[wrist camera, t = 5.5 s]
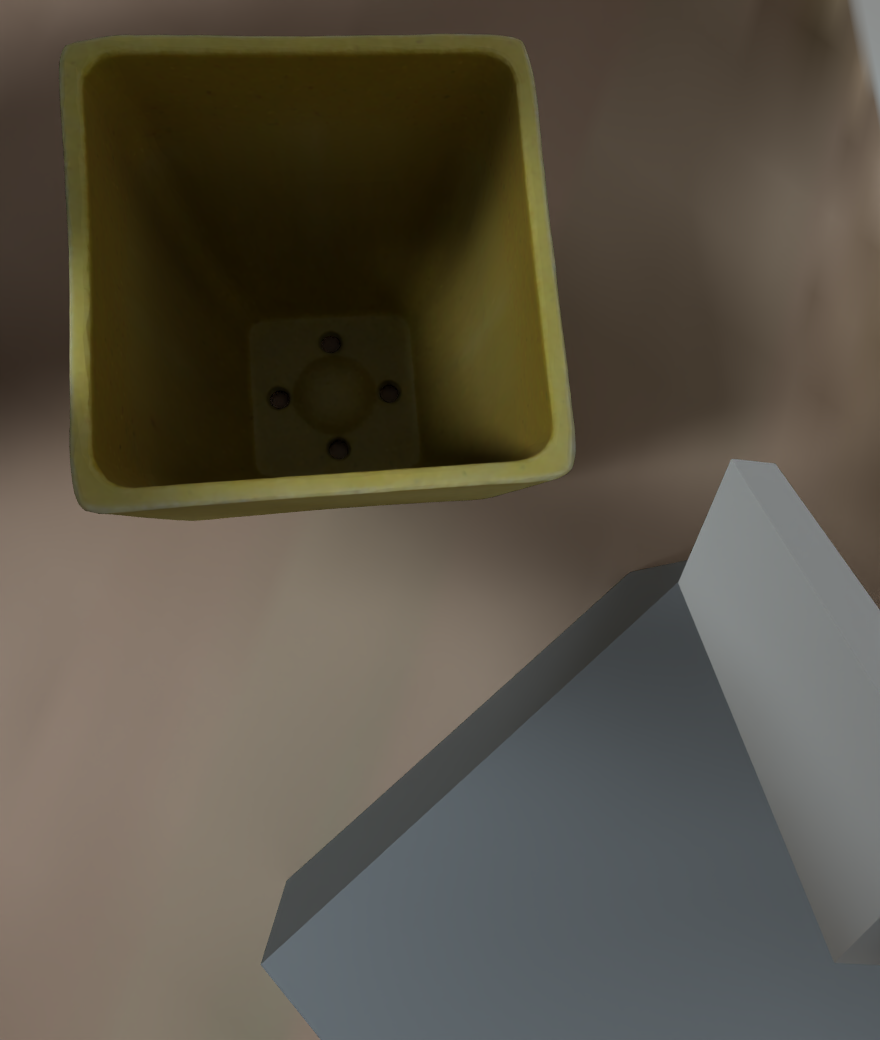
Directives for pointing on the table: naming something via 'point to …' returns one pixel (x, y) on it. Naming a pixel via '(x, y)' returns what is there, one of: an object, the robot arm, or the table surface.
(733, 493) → the robot arm
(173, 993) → the table surface
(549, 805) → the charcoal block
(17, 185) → the table surface
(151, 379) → the flower pot
